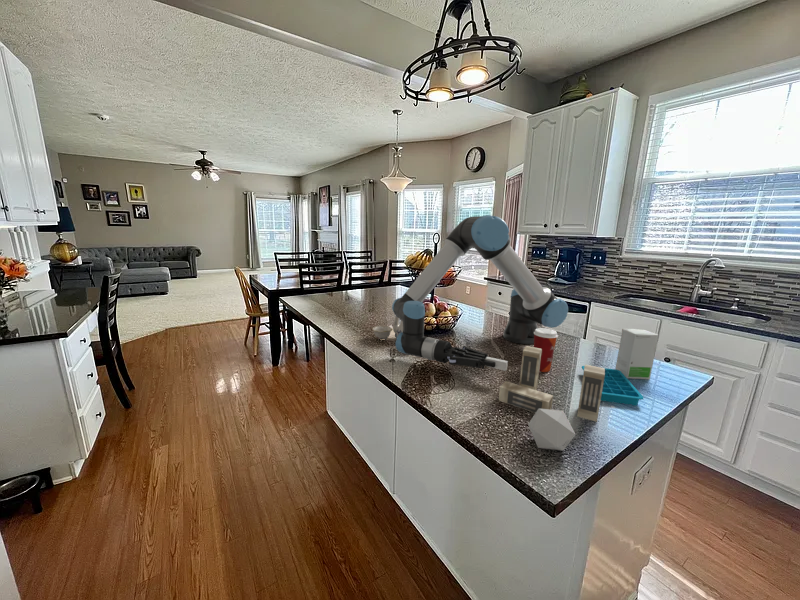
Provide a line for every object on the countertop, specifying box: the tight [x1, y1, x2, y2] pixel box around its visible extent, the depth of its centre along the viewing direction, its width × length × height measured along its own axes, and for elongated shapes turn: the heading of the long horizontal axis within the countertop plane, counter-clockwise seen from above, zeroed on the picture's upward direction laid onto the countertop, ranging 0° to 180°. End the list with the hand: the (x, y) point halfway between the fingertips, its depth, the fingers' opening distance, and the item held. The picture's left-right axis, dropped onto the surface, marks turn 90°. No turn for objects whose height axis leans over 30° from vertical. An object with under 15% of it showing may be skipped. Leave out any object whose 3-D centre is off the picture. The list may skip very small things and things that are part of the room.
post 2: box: [498, 380, 554, 414], centre depth 90 cm, size 5×4×13 cm
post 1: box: [518, 345, 542, 391], centre depth 98 cm, size 5×4×13 cm
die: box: [527, 409, 576, 452], centre depth 73 cm, size 8×9×10 cm
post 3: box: [576, 364, 605, 423], centre depth 85 cm, size 5×4×13 cm
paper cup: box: [533, 327, 559, 373], centre depth 113 cm, size 8×8×14 cm
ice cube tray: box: [581, 365, 644, 406], centre depth 101 cm, size 12×20×3 cm, turn 164°
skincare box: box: [614, 328, 659, 380], centre depth 109 cm, size 8×7×16 cm
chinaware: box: [371, 315, 403, 340], centre depth 136 cm, size 28×17×17 cm, turn 53°
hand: (506, 366), depth 101 cm, fingers closed
